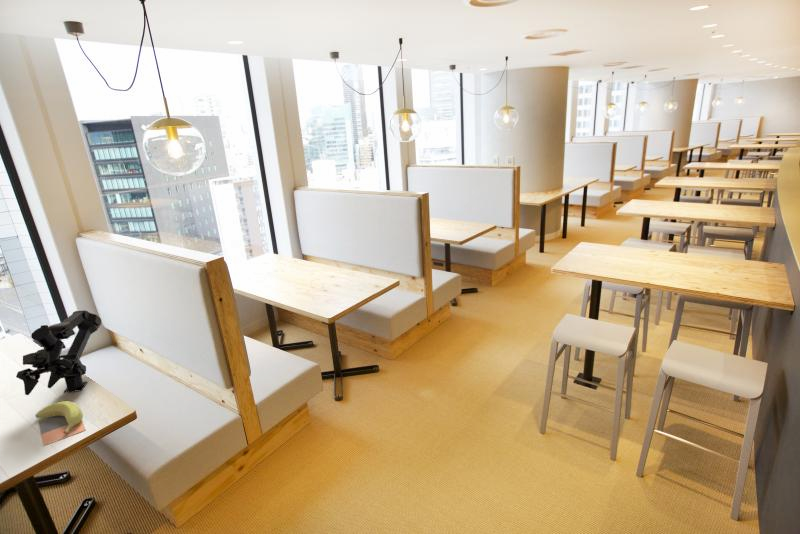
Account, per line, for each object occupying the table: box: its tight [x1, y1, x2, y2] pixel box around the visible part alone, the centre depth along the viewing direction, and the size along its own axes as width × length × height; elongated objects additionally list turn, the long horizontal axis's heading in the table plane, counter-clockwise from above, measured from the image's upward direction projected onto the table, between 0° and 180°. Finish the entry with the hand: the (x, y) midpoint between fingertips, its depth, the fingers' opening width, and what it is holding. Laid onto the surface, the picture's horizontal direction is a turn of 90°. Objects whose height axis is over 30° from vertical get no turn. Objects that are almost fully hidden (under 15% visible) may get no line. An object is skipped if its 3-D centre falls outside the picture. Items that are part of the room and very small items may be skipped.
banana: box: [35, 400, 84, 434], centre depth 160 cm, size 14×6×20 cm
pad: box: [40, 420, 86, 447], centre depth 156 cm, size 8×12×1 cm, turn 133°
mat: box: [38, 416, 69, 435], centre depth 162 cm, size 10×12×1 cm
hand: (37, 391), depth 158 cm, fingers open, 9 cm apart
